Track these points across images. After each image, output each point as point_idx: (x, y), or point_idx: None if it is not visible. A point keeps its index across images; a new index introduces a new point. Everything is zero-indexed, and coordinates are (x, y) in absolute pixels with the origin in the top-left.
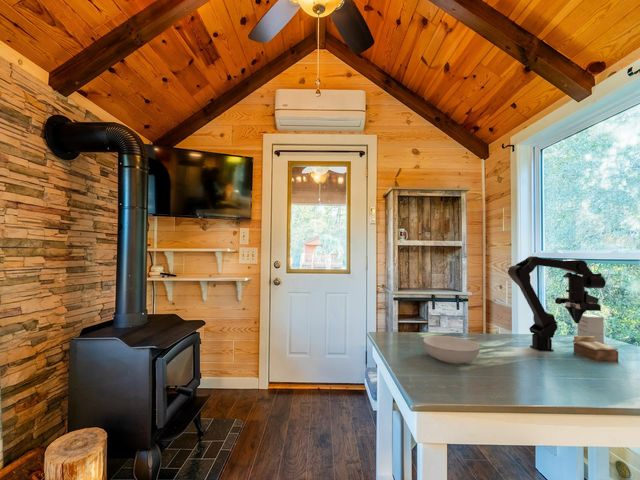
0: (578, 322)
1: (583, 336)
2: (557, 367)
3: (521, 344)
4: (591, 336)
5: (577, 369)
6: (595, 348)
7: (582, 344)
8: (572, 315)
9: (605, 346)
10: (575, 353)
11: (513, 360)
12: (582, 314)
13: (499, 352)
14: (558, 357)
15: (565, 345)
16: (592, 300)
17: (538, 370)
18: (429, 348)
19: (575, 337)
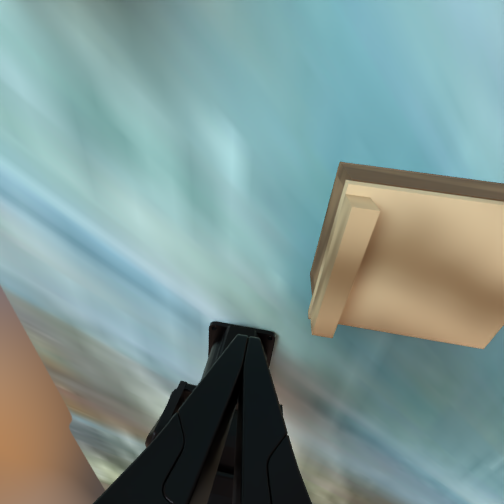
0: (262, 351)
1: (333, 283)
2: (420, 435)
3: (179, 362)
4: (350, 217)
5: (463, 410)
6: (483, 345)
7: (384, 328)
8: (215, 474)
9: (502, 254)
10: None
11: (333, 467)
12: (304, 489)
13: None
14: (344, 370)
15: (177, 195)
16: None
17: (415, 475)
18: None
19: (323, 331)
